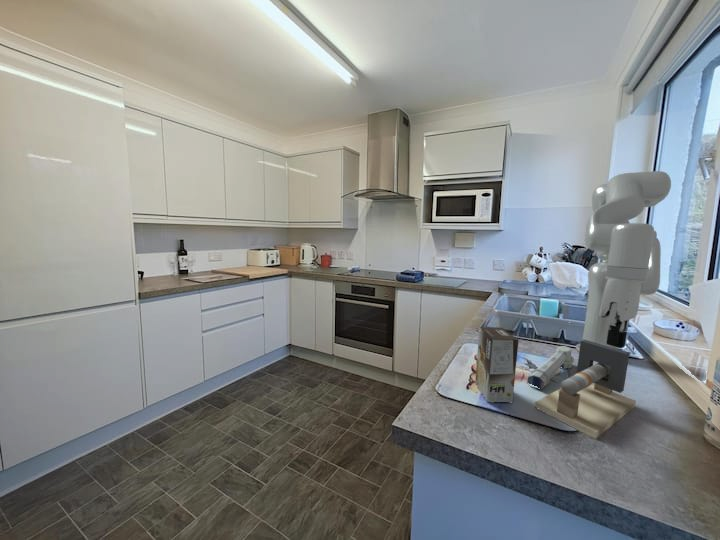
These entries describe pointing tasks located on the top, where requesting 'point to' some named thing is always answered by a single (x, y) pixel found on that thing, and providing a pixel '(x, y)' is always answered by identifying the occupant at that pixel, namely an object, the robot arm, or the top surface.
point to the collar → (608, 357)
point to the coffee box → (496, 364)
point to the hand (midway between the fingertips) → (615, 345)
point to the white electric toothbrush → (551, 367)
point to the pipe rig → (587, 402)
